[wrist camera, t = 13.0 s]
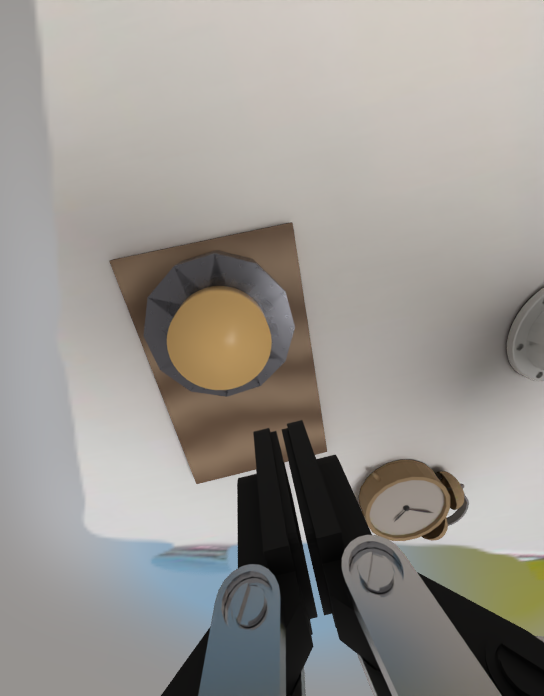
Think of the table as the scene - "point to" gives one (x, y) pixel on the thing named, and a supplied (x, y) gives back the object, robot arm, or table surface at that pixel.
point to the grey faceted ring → (218, 272)
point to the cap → (219, 338)
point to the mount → (248, 406)
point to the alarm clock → (411, 501)
